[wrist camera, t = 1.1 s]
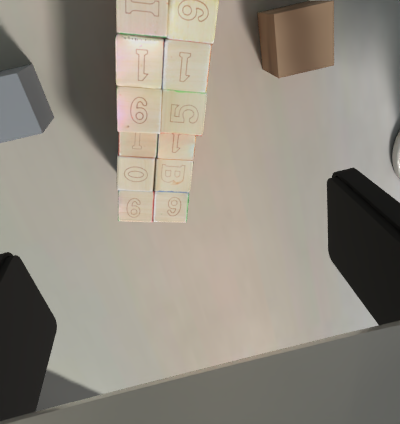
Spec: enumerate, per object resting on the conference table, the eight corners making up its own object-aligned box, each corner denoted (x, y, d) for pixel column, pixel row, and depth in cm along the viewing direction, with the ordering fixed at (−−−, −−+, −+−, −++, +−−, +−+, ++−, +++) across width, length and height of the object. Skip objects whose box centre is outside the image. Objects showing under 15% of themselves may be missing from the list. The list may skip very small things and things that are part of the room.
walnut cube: (309, 0, 34) (333, 0, 30) (311, 57, 36) (333, 65, 32) (256, 12, 34) (273, 14, 29) (262, 69, 36) (278, 78, 32)
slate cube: (32, 63, 33) (16, 73, 29) (54, 117, 36) (42, 133, 31) (-22, 76, 33) (-46, 87, 29) (3, 128, 36) (-15, 146, 31)
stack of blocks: (177, 181, 41) (190, 243, 30) (120, 178, 40) (113, 242, 29) (200, -50, 31) (231, -77, 20) (124, -63, 30) (115, -98, 19)
